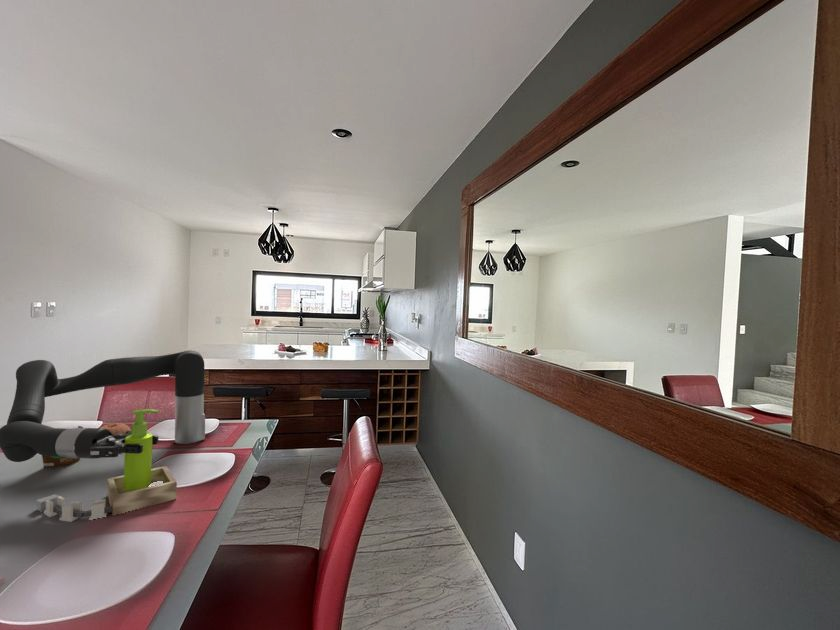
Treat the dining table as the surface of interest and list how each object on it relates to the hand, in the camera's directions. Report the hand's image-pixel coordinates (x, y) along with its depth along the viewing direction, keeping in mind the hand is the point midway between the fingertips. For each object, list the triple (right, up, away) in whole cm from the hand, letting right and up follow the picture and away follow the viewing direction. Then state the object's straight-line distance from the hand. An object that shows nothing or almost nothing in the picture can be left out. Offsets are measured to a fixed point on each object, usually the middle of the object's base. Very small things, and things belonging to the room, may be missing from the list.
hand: (149, 444), depth 105 cm
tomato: (-38, -13, +36) cm, 54 cm away
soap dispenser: (-3, -11, 0) cm, 11 cm away
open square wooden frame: (-3, -14, +1) cm, 14 cm away
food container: (-40, -13, +21) cm, 47 cm away
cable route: (-14, -14, -7) cm, 21 cm away
